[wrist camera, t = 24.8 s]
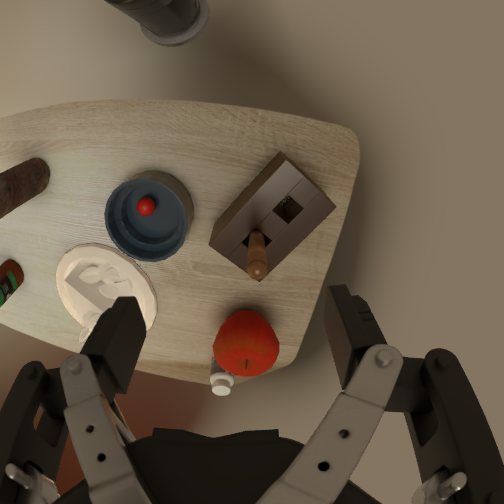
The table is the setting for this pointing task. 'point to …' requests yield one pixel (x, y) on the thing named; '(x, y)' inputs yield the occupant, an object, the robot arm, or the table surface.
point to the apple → (246, 344)
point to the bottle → (9, 279)
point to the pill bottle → (220, 379)
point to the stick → (256, 255)
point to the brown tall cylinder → (22, 184)
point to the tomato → (146, 206)
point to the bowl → (153, 226)
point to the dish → (101, 284)
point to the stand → (271, 214)
